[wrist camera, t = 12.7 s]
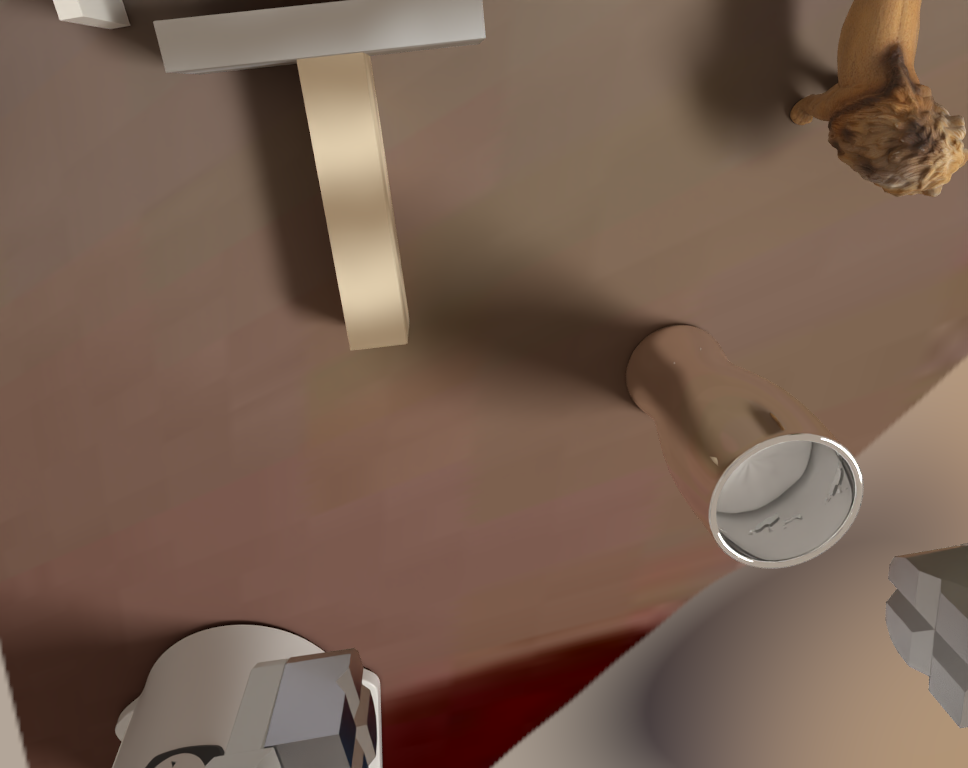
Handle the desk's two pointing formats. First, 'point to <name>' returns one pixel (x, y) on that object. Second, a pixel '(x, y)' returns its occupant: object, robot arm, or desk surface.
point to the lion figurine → (886, 104)
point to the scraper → (337, 120)
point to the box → (93, 12)
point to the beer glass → (744, 451)
